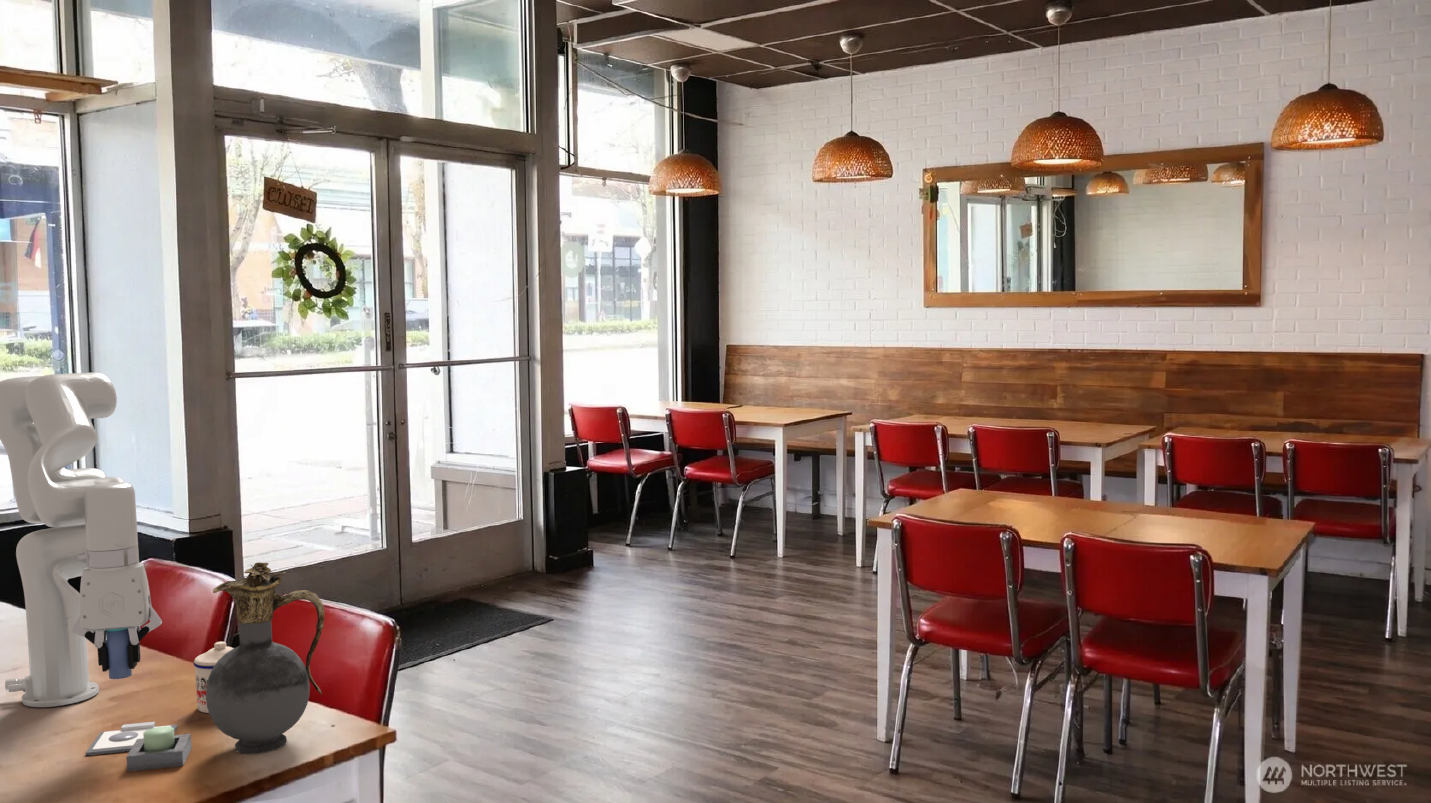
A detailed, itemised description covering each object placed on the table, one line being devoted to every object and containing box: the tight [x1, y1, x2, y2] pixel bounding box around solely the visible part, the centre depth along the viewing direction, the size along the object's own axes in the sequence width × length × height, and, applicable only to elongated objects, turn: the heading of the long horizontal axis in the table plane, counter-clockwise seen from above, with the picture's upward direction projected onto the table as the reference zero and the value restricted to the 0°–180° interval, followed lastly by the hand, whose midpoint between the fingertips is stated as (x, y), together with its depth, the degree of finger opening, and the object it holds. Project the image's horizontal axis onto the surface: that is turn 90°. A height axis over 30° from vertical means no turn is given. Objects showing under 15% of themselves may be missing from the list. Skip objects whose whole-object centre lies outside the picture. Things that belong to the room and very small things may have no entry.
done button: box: [143, 726, 175, 752], centre depth 190 cm, size 4×4×3 cm
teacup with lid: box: [193, 641, 235, 714], centre depth 215 cm, size 12×9×12 cm
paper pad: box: [85, 721, 178, 757], centre depth 199 cm, size 12×10×1 cm
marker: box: [106, 628, 133, 680], centre depth 198 cm, size 4×4×10 cm
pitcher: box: [206, 561, 325, 755], centre depth 195 cm, size 11×19×30 cm, turn 127°
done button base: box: [126, 733, 192, 773], centre depth 190 cm, size 8×8×2 cm
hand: (120, 667), depth 198 cm, fingers closed on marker, 3 cm apart
